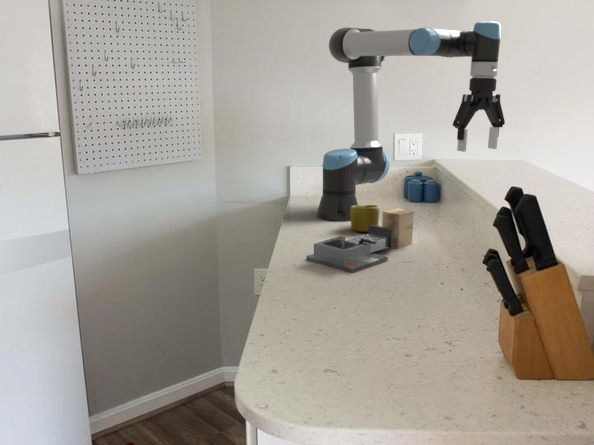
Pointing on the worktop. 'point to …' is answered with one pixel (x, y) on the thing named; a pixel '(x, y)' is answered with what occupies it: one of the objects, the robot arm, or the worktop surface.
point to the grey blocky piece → (374, 238)
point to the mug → (364, 217)
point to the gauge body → (345, 255)
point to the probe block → (399, 225)
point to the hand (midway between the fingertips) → (477, 149)
